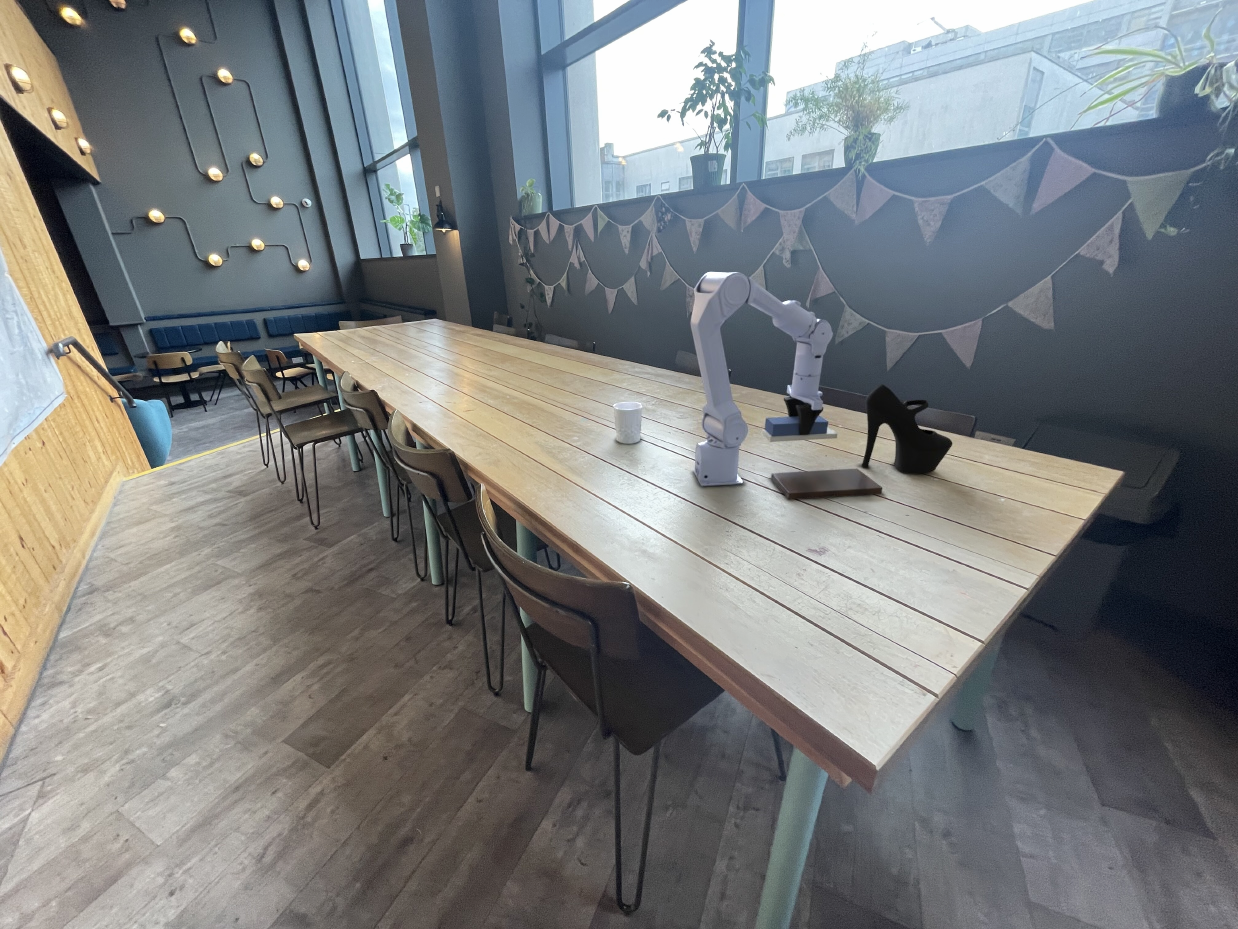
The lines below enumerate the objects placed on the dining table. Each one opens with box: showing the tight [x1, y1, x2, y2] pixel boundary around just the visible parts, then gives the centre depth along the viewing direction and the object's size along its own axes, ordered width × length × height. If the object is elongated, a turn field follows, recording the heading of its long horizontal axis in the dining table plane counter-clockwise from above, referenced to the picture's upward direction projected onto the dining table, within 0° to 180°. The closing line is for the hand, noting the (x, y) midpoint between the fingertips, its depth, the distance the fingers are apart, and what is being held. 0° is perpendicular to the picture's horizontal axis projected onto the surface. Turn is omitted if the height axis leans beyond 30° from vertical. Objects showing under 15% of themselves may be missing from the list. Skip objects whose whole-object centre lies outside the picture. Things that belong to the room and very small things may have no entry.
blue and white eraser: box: [761, 415, 838, 443], centre depth 111 cm, size 16×6×4 cm, turn 94°
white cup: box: [612, 401, 643, 445], centre depth 131 cm, size 8×8×10 cm
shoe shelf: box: [770, 468, 883, 500], centre depth 102 cm, size 20×10×2 cm, turn 94°
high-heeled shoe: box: [861, 383, 953, 475], centre depth 106 cm, size 8×19×20 cm, turn 79°
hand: (799, 430), depth 111 cm, fingers closed on blue and white eraser, 5 cm apart
